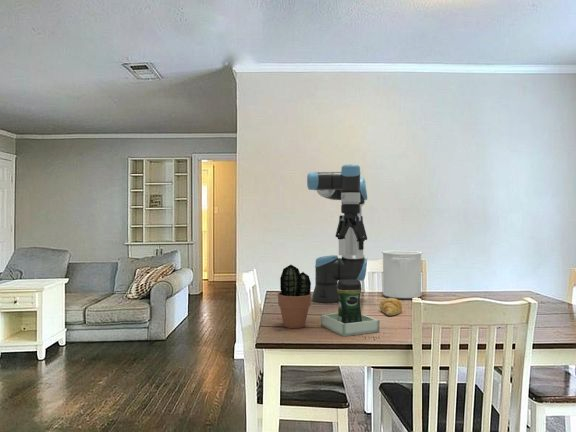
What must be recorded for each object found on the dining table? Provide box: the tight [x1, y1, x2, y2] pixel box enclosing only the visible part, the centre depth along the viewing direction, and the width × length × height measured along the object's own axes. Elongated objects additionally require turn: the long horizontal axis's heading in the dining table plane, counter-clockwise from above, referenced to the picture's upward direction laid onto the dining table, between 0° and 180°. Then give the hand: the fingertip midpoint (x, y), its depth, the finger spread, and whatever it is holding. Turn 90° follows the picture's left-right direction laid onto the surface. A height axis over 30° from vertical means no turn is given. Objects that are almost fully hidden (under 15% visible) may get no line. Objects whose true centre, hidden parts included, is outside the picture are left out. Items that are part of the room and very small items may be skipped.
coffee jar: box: [337, 280, 363, 324], centre depth 187 cm, size 10×8×19 cm
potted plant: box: [277, 264, 312, 329], centre depth 192 cm, size 14×14×25 cm
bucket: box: [381, 249, 423, 301], centre depth 257 cm, size 26×22×24 cm
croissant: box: [379, 298, 403, 317], centre depth 218 cm, size 21×10×8 cm, turn 164°
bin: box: [320, 312, 380, 337], centre depth 187 cm, size 18×16×4 cm
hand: (350, 256), depth 188 cm, fingers open, 13 cm apart
